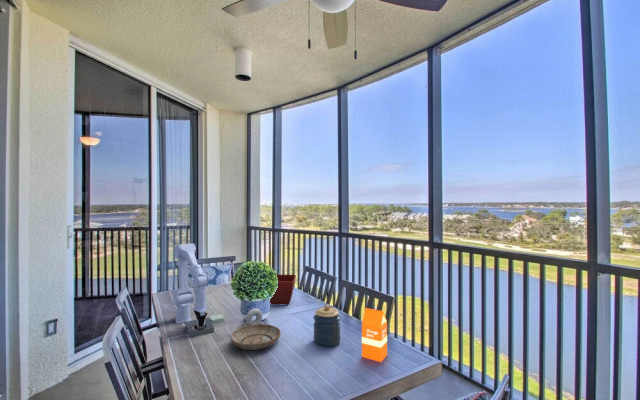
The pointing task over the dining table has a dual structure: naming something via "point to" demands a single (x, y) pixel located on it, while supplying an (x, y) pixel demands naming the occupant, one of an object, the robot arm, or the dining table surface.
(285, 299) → the plant pot
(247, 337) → the brown shallow round bowl
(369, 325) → the orange juice
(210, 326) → the hole plate
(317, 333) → the canister
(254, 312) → the grey stone ring
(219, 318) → the pale green block
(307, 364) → the dining table surface
